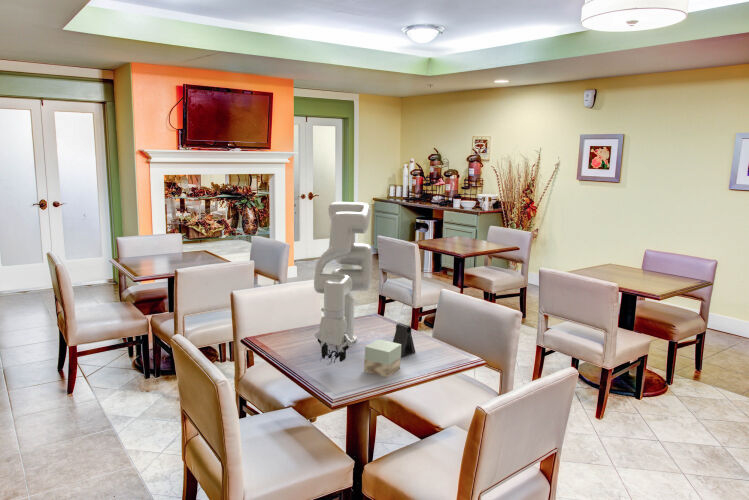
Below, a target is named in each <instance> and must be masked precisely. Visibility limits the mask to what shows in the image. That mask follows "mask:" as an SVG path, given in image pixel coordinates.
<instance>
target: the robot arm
mask: <svg viewBox="0 0 749 500" xmlns="http://www.w3.org/2000/svg"><path fill="white" fill-rule="evenodd" d="M327 209H328V216H329V218H330V221H331V222H330V231H329V232H330V233H329V240H328V241H329V243H328V248H327V249H326V250H325V251H324V252H323V253H322V254H321V255H320V257H319V258H318V260H317V262H316V264H315V268H314V269H315V270H314V277H313V288H314V291H315V292H316V293H317V294H323V307H321V312H323V314H322V315H321V318H320V322H319V330H318V331H317V332H316V333H315V334H314V337H315V338H316V340H317V343H319V346H320V348H321V357H325V358H326V357H327V356H326V355H325V354H327V355H328V354H329V351H327V350H329V345H334V346H337V347H339V350H340V351H338V353H339V357H338V358H339V361H338V362H340V363H342V362H343V361H346V358H347V350H348V349H349V348H350V347H352V345H353V344H354V343H356V341H358V336H357V335H356V334H354V333H355V332H354V331H355V330H354V326H355V325H354V324H355V299H354V297H353V295H352V294H351V293H350V292H368V291H370V290H371V287H372V280H373V278H372V276H373V275H372V274H373V250H372V247H371V245H370V244H368V243H356V234H365V233H367V231H368V228H369V225H370V219H371V211H372V210H371V206H370V205H369V204H368V203H366V202H351V201H335V202H331V203H330V204H329V205H328V208H327ZM331 261H335V263H336V264H337V265H341V266H358V267H360V268H350V267H349V268H346V267H344V268H343V267H340V268H335V269H333V270H332V271H331V273H324V271H323V270H324V268H325V266H326V265H328V263H330V262H331ZM324 355H325V356H324ZM328 356H329V355H328Z"/></svg>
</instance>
